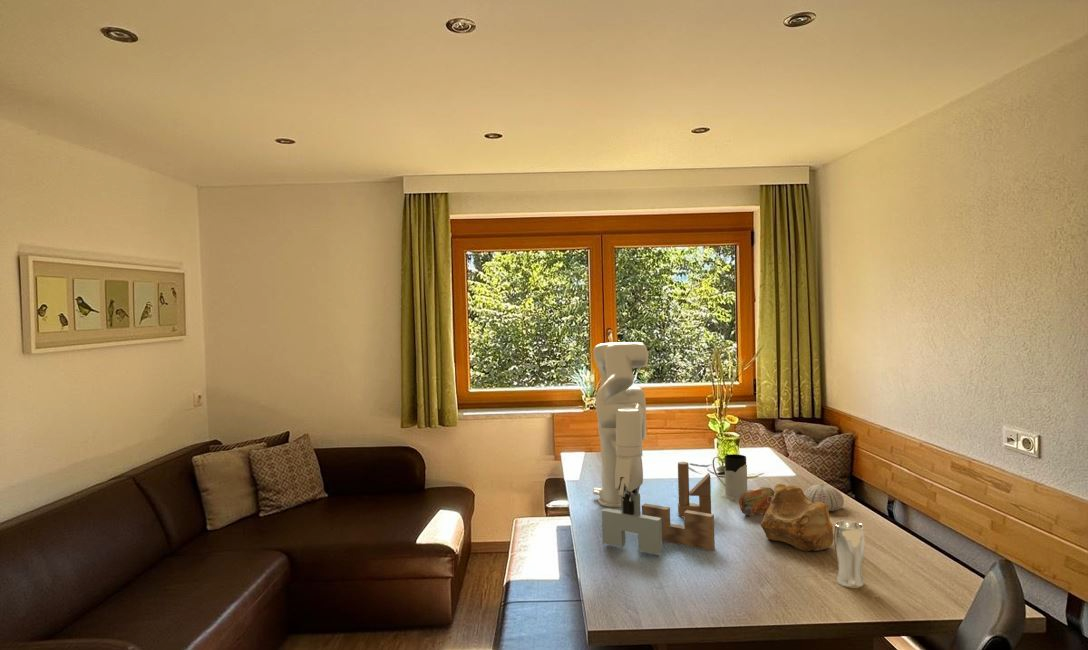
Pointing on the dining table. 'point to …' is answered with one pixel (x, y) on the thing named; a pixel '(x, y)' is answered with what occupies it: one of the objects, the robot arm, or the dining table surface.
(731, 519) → the dining table surface
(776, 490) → the rough brown rock
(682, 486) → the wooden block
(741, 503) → the tin
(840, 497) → the sea urchin shell
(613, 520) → the grey slotted plate
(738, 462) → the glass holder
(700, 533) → the walnut slotted board
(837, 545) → the beer glass
